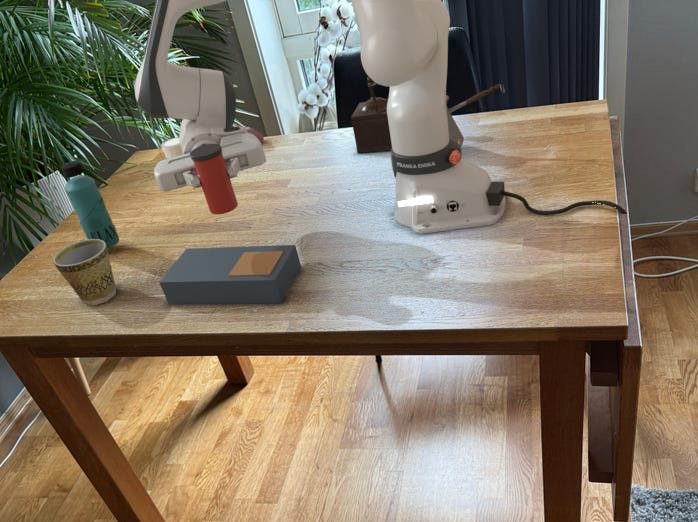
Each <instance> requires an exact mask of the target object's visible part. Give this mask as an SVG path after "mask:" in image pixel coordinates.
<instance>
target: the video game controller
mask: <svg viewBox="0 0 698 522" xmlns="http://www.w3.org/2000/svg"><path fill="white" fill-rule="evenodd" d="M240 126H241V125H234V127H240ZM245 127H246V129H247V131H248V133H251V134H253V135H254V136H256V137H257V139H258V140H259V141H260V142H261V143H263V142H264V141H265V137H264V135H263V134H262V133H261V132H259V131H257V130H255V129H254V128H252V127H251V126H245Z"/></svg>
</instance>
